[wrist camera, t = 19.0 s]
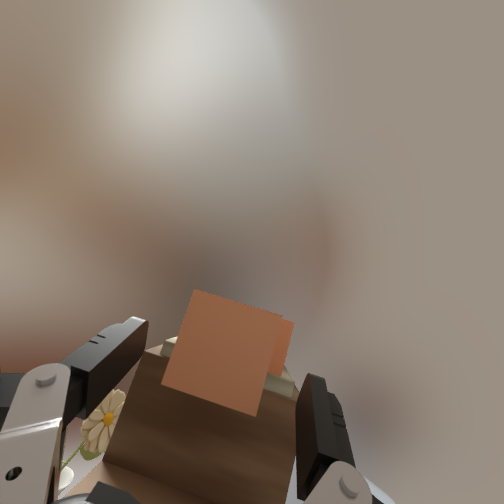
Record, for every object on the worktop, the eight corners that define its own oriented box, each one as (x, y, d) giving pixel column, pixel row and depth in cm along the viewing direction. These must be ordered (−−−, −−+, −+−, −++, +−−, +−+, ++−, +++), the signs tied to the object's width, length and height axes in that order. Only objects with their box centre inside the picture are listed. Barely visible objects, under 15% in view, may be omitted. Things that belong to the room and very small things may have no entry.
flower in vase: (-92, 716, 22) (46, 410, 27) (-64, 586, 30) (38, 371, 36) (75, 622, 30) (153, 405, 36) (61, 541, 38) (126, 374, 44)
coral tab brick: (305, 433, 9) (327, 329, 10) (115, 368, 10) (152, 276, 11) (271, 354, 28) (280, 320, 29) (205, 333, 28) (216, 300, 29)
